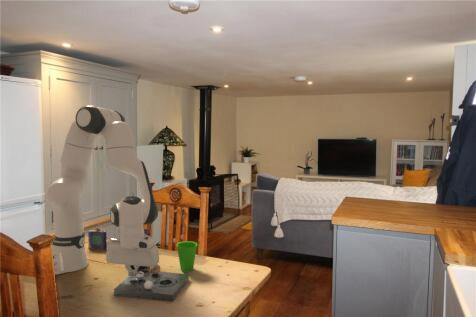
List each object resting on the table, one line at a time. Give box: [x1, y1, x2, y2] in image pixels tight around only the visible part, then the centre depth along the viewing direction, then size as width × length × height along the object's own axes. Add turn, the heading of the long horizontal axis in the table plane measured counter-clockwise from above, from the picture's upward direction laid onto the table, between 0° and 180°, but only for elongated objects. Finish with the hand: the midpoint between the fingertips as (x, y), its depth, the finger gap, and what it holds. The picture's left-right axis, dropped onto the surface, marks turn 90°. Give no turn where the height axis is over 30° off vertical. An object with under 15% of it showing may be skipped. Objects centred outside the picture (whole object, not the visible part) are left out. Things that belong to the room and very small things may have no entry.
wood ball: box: [149, 263, 161, 274], centre depth 144 cm, size 4×4×4 cm
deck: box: [113, 269, 190, 303], centre depth 138 cm, size 22×18×2 cm
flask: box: [87, 226, 108, 251], centre depth 180 cm, size 9×3×11 cm, turn 84°
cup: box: [175, 240, 199, 273], centre depth 155 cm, size 9×9×11 cm
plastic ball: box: [144, 281, 153, 289], centre depth 131 cm, size 3×3×3 cm
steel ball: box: [136, 271, 144, 280], centre depth 138 cm, size 3×3×3 cm
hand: (132, 275), depth 139 cm, fingers closed
